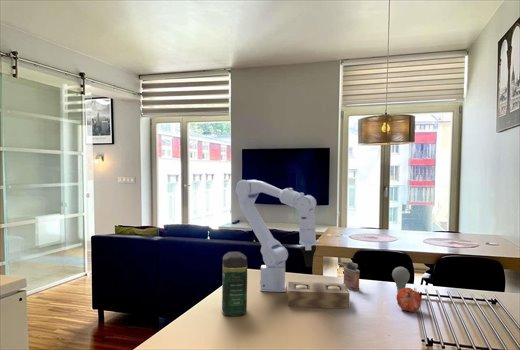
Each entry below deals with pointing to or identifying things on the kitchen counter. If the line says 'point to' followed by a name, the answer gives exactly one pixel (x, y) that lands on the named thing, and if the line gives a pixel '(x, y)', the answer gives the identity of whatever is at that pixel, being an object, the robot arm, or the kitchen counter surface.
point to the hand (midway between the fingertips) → (309, 266)
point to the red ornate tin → (351, 276)
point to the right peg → (333, 288)
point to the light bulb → (400, 277)
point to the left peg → (301, 287)
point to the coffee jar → (234, 284)
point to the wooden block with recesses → (318, 295)
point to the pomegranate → (408, 299)
